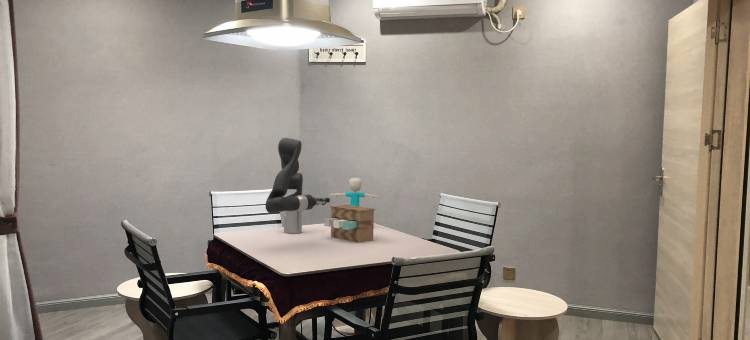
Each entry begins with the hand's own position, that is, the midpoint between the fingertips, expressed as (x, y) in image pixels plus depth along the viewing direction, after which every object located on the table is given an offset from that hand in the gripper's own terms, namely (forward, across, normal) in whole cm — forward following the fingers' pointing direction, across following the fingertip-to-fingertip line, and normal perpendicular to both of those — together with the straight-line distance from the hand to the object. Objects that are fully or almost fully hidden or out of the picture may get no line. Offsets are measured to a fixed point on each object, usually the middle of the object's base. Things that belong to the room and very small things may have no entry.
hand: (328, 200), depth 338 cm
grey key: (+10, +7, +15) cm, 19 cm away
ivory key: (+10, 0, +15) cm, 18 cm away
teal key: (+10, -7, +15) cm, 19 cm away
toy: (+42, +24, +22) cm, 53 cm away
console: (+17, 0, +22) cm, 28 cm away
